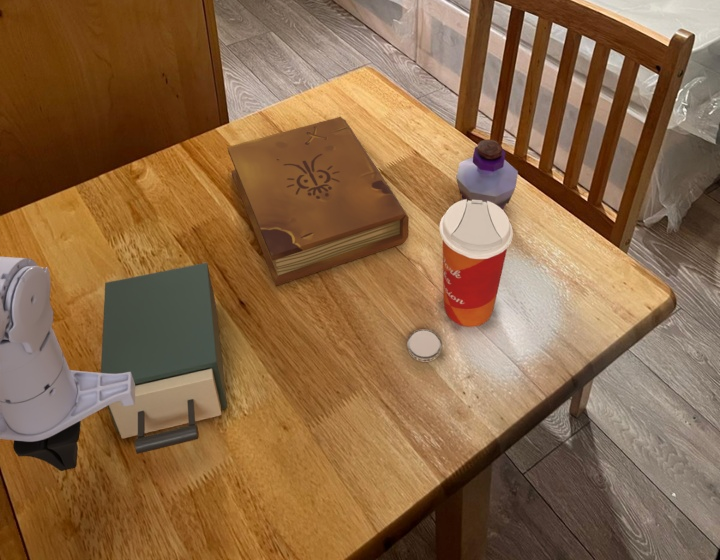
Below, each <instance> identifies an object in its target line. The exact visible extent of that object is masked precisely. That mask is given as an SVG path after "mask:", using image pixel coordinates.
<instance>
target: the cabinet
mask: <svg viewBox="0 0 720 560" xmlns="http://www.w3.org/2000/svg"><path fill="white" fill-rule="evenodd" d="M209 269H210V268H209V265H208V262H202V263H198V264H193V265H192V264H191V265H187V266H183V267H177V268H172V269H167V270H162V271H157V272H152V273H147V274H142V275H136V276H132V277H127V278H122V279H116V280H111V281H108V282H104V298H103V299H104V301H103V320H102V321H103V322H102V338H101V339H102V340H101V357H100V358H101V361H100V373H107V374H120V373H126V372H131V374H132V377H133V380H134V383H135V384H139V383H144V382H148V381H153V380H157V379H161V378H166V377H170V376H175V375H179V374H184V373H188V372H192V371H197V370H201V369H206V368H210V369H212V370H213V375H214V379H215V383H216V388H217V392H218V396H219V400H220V405H221V410H225V409H227V408H228V402H227V393H226V384H225V383H226V382H225V374H224V366H223V365H224V364H223V355H222V346H221V345H222V344H221V335H220V327H219V316H218V308H217V303H216V298H215V294H214V288H213V284H212V279H211V274H210V270H209ZM106 408H107V409H108V412H109V414H110V417H111V419H112V422H113V425H114V427H115V430H116V432H117V434H119V435H120V432H119V430H118V427H117V425H116V422H115V420H114V417H113V414H112V412H111V409H110V407H109V405H108V406H106Z"/></svg>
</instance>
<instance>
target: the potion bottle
mask: <svg viewBox="0 0 720 560" xmlns="http://www.w3.org/2000/svg"><path fill="white" fill-rule="evenodd" d="M518 174H519V171H518V170H517V169H516V168H515V167H514V166H513V165H511V164H510V163H509V162H508V161H507V160H506V151H505V150H504V149H503V146H502V145H501V144H500V143H499V142H498V140H494V139H489V138H488V139H483V140H481V141H479V142H478V143H477V146H475V147H474V149H473V154H472V156H471V157H468V158H467V159H464V160H462V161H459V165H458V169H457V173H456V177H455V178H456V182H457V188H458V193H459V195H461V200H465V199H467V202H468V201H472V200H482V202H486V203H487V201H489V202H492V203H494V204H496V205H497V206H499V207H500V208H501V209H502V210H503V211H504V209H505V207H506V206H507V204H509V203H510V201H511V198H512V197H513V194H514V192H515V189H516V188H517V180H518Z"/></svg>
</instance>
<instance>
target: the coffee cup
mask: <svg viewBox="0 0 720 560" xmlns="http://www.w3.org/2000/svg"><path fill="white" fill-rule="evenodd" d="M438 227H439V235H440V238H441V240H442V285H443V286H442V288H443V289H442V290H443V291H442V292H443V306H444V311H445V313H446V315H447V316H448V318H449V319H450V320H451V321H452V322H453V323H455V324H457V325H459V326H462V327H467V328H474V327H480V326H482V325H484V324H485V323H487V322H488V321H489V320H490V318H491V316H492V315H493V313H494V312H493V311H494V308H495V304H496V300H497V296H498V291H499V287H500V283H501V279H502V273H503V269H504V264H505V260H506V255H507V252H508V248H509V247H510V246H511V243H512V241H513V237H514V230H513V225H512V224H511V222H510V219H509V217H508V214H507V213H506V212H505V211H504V210H502V209H501V208H500V207H499V206H497V205H496V204H494V203H492V202H489V201H487V203H486V202H482V200H472V201H468V202H467V199H465V200H463V199H460V200H459V201H457V202H455V203H453V204H451V206H450V207H449V208H447V211H445V213H444V214H443V216H442V217H441V219H440V221H439V226H438Z"/></svg>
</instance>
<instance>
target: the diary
mask: <svg viewBox="0 0 720 560" xmlns="http://www.w3.org/2000/svg"><path fill="white" fill-rule="evenodd" d="M361 143H362V142H361V141H360V140H359V138H358V136H357V135H356V134H355V133H354V131H353V129H352V128H351V126H350V125H349V123H348V122H347V121H346V119H344V118H343V117H342V116H337V117H335V118H331V119H327V120H323V121H319V122H316V123H312V124H308V125H304V126H301V127H297V128H296V127H295V128H293V129H289V130H285V131H281V132H278V133H274V134H271V135H267V136H263V137H259V138H255V139H251V140H248V141H244V142H240V143H236V144H234V145H229V146H227V152H228V155H229V157H230V160H231V162H232V165H233V167H234V169H232V170H230V171H231V176H232V179H233V181H234V184H235V186H236V189H237V191H238V193H239V196H240V199H241V202H242V204H243V206H244V209H245V212H246V214H247V216H248V219H249V221H250V225H251V226H252V230H253V232H254V235H255V237H256V239H257V242H258V244H259V247H260V249H261V252H262V255H263V257H264V260H265V262H266V265H267V267H268V269H269V272H270V275H271V277H272V280H273V282H274V285H275V286H280V285H282V284H286V283H288V282H291V281H294V280H297V279H301V278H303V277H306V276H309V275H313V274H315V273H319V272H321V271H325V270H327V269H330V268H333V267H336V266H339V265H342V264H345V263H348V262H352V261H354V260H357V259H360V258H363V257H367V256H370V255H372V254H376V253H379V252H381V251H385V250H388V249H390V248H394V247H397V246H400V245H404V243H405V242H406V241H407V240H408V238H409V222H410V221H409V219H410V218H409V216H408V214H407V212H406V210H405V209H404V207H403V206H402V205H401V203H400V202H399V200H398V198H397V197H396V195H395V193H394V192H393V191H392V189H391V188H390V186H389V185H388V183H387V181H386V179H384V177H383V176H382V174H381V172H380V171H379V170H378V168H377V166H376V165H375V163H374V162H373V160H372V158H371V157H370V155H369V154H368V152H367V151H366V149H365V148H364V146H363V145H362V144H361Z"/></svg>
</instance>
